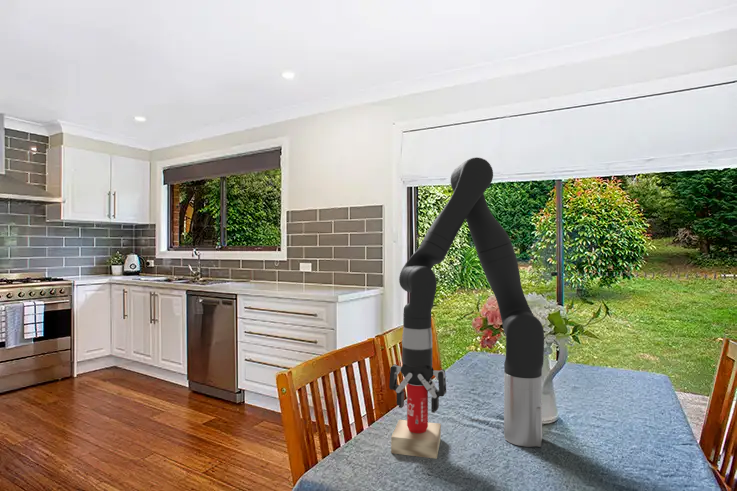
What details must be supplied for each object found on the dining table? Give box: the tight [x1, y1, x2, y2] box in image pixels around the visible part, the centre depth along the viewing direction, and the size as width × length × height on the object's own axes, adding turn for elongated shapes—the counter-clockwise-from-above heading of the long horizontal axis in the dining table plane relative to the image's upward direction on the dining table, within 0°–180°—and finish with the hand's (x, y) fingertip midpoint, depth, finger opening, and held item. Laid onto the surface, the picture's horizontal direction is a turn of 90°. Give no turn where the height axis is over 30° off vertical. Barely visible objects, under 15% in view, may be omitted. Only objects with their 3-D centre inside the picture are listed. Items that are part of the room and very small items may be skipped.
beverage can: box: [406, 383, 429, 434], centre depth 111 cm, size 5×5×12 cm
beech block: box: [390, 419, 442, 460], centre depth 111 cm, size 11×11×4 cm
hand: (417, 409), depth 111 cm, fingers open, 8 cm apart
